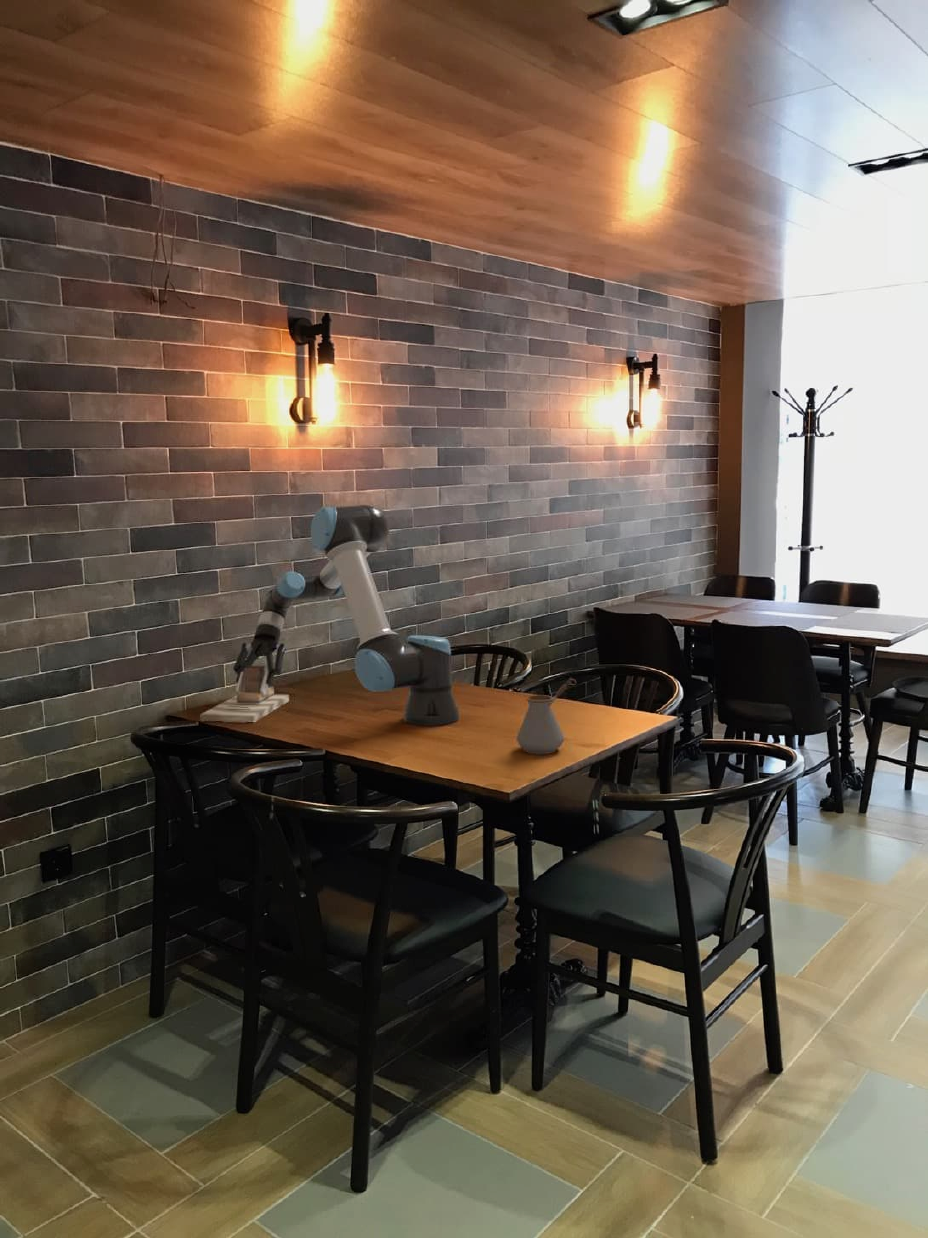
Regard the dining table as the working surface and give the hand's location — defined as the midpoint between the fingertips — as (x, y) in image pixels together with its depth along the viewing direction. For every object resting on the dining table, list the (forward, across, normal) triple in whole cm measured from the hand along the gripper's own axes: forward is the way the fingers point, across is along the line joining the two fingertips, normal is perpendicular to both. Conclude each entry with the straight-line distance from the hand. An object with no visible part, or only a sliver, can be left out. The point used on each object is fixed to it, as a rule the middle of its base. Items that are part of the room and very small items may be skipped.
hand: (250, 692), depth 288 cm
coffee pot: (+25, -93, +18) cm, 98 cm away
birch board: (+6, 0, -1) cm, 6 cm away
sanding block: (-1, 0, -4) cm, 4 cm away
